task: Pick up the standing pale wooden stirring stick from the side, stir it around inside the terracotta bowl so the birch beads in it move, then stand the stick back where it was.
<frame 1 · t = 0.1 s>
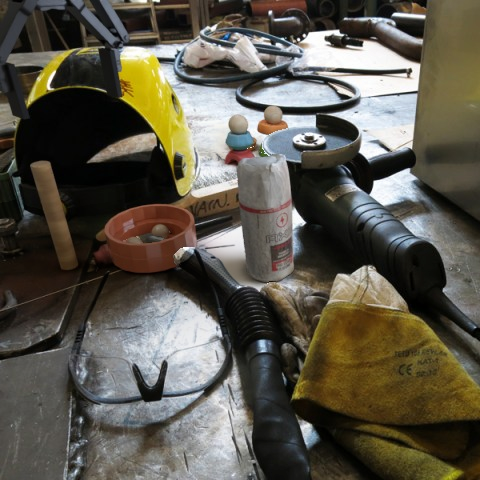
hand: (71, 106, 66), 27 cm above the workbench, tool pointing down, fingers open, 13 cm apart
bead a: (166, 247, 80), point 2 cm above the workbench, touching bowl
bowl: (155, 253, 83), on the workbench
bead c: (134, 245, 81), point 2 cm above the workbench, touching bowl
bead b: (160, 232, 85), point 2 cm above the workbench, touching bowl
spray can: (269, 270, 80), on the workbench
stick: (69, 266, 79), on the workbench
multicoloured wooden toy: (248, 156, 124), on the workbench
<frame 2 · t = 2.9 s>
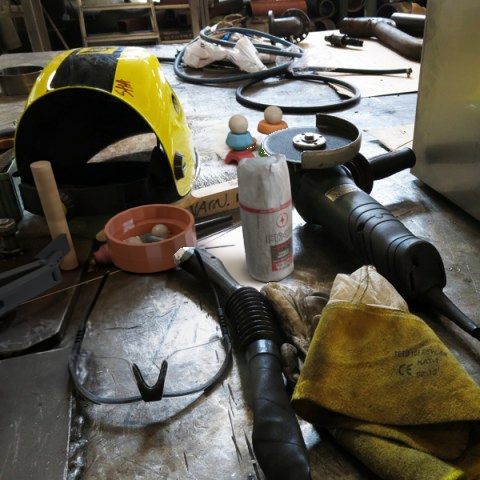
hand: (17, 240, 66), 10 cm above the workbench, tool horizontal, fingers open, 13 cm apart
nothing on the workbench moved.
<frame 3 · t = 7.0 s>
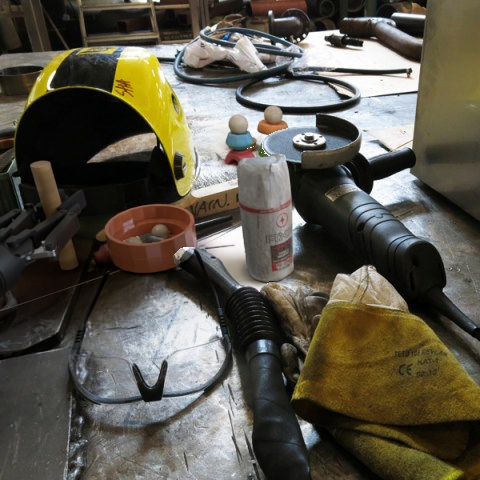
hand: (72, 197, 79), 10 cm above the workbench, tool horizontal, fingers closed on stick, 3 cm apart
stick: (69, 266, 79), on the workbench, touching gripper
everything else where it was.
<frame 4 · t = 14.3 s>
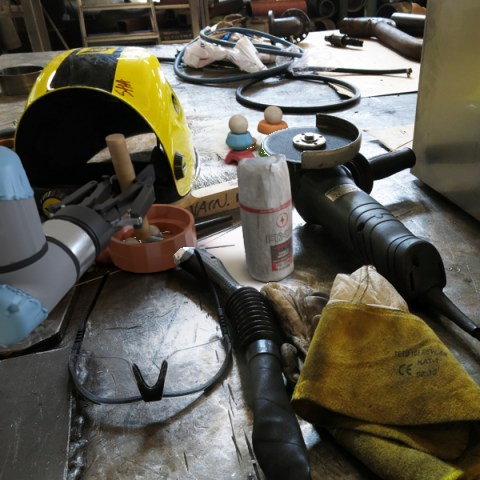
hand: (142, 171, 80), 13 cm above the workbench, tool horizontal, fingers closed on stick, 3 cm apart
bead c: (131, 246, 81), point 2 cm above the workbench, tilted 13°, touching bowl, stick
bead b: (151, 233, 84), point 2 cm above the workbench, tilted 52°, touching bowl
stick: (143, 235, 82), point 3 cm above the workbench, tilted 6°, touching bead c, gripper
everything else where it was.
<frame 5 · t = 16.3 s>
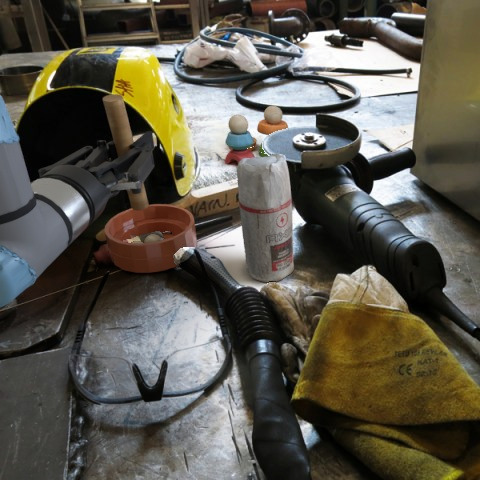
hand: (140, 139, 75), 20 cm above the workbench, tool horizontal, fingers closed on stick, 3 cm apart
bead c: (137, 249, 80), point 2 cm above the workbench, tilted 56°, touching bowl
bead b: (153, 242, 82), point 2 cm above the workbench, tilted 96°, touching bowl
stick: (140, 206, 77), point 10 cm above the workbench, tilted 7°, touching gripper
everything else where it was.
when the fingers open (10 cm above the workbench, at t = 20.9 s): stick stays where it is, on the workbench.
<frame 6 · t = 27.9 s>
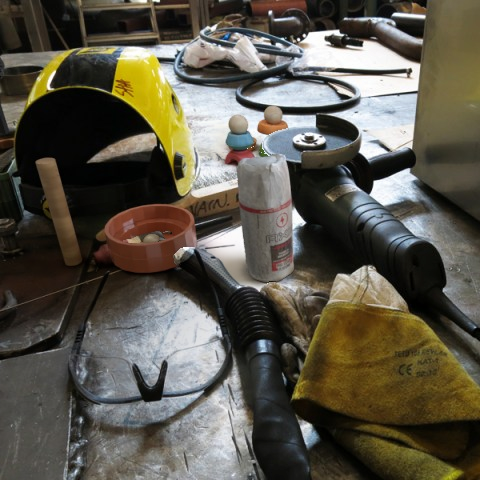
bead a: (167, 249, 80), point 2 cm above the workbench, tilted 19°, touching bowl
bead c: (141, 251, 79), point 2 cm above the workbench, tilted 91°, touching bowl
stick: (73, 261, 80), on the workbench
everything else where it was.
at the end: bead b moved 3.3 cm from its start; stick tilted 0°; stick inside the target area (1.3 cm from its centre), on the workbench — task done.
